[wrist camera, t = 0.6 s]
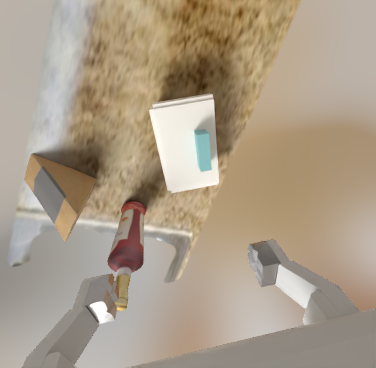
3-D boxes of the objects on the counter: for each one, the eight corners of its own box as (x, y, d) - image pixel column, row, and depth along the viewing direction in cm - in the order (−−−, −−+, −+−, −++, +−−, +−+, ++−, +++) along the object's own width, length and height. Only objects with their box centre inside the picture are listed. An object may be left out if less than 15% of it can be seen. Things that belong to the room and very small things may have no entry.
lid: (148, 103, 39) (147, 108, 33) (209, 93, 39) (218, 96, 34) (167, 188, 49) (169, 202, 44) (215, 179, 50) (222, 191, 45)
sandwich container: (31, 151, 45) (-18, 183, 32) (97, 178, 51) (78, 213, 38) (23, 180, 48) (-25, 219, 36) (86, 202, 54) (65, 242, 41)
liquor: (127, 194, 55) (105, 290, 31) (151, 203, 57) (148, 298, 33) (117, 212, 57) (89, 314, 33) (140, 221, 60) (129, 320, 36)
